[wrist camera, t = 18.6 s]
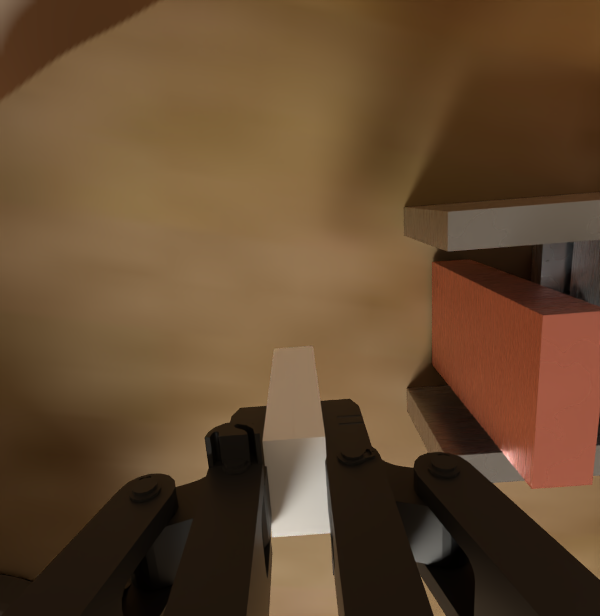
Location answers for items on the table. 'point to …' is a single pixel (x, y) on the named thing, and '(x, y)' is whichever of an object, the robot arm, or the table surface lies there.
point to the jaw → (525, 362)
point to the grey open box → (545, 271)
